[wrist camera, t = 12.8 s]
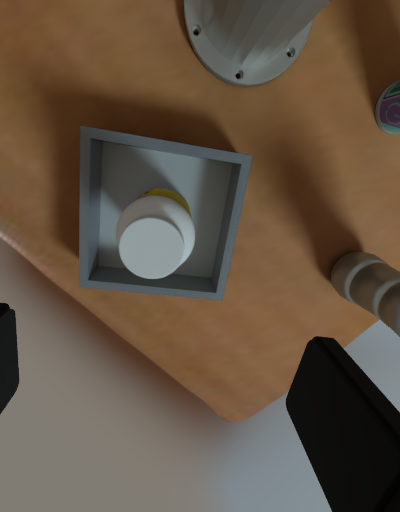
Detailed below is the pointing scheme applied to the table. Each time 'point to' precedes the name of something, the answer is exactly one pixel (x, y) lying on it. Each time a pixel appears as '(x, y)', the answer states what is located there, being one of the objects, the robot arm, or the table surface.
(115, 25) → the table surface
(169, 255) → the supplement bottle
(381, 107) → the spray can
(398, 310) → the plastic bottle
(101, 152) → the box
